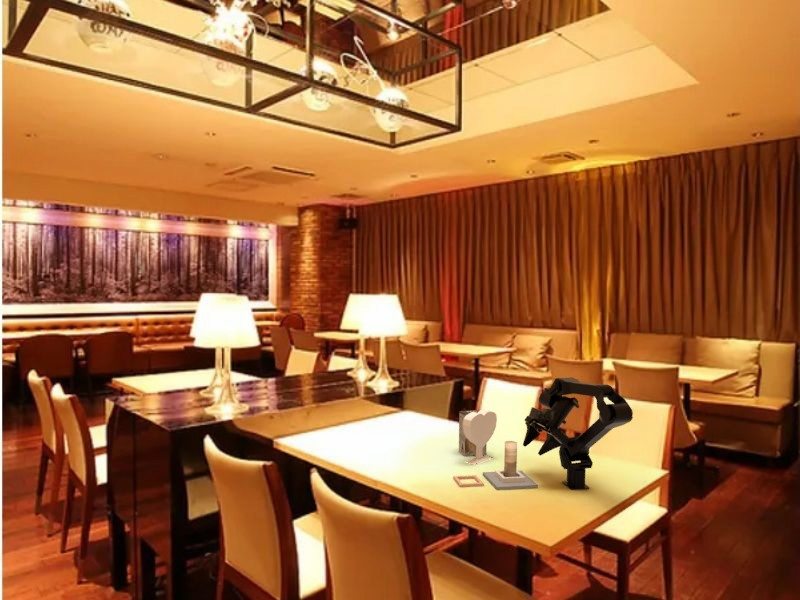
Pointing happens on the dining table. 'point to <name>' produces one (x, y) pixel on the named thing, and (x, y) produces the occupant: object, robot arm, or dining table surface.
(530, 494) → the dining table surface
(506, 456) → the birch pin
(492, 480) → the board
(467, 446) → the coffee box
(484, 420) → the heart sculpture
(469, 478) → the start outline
